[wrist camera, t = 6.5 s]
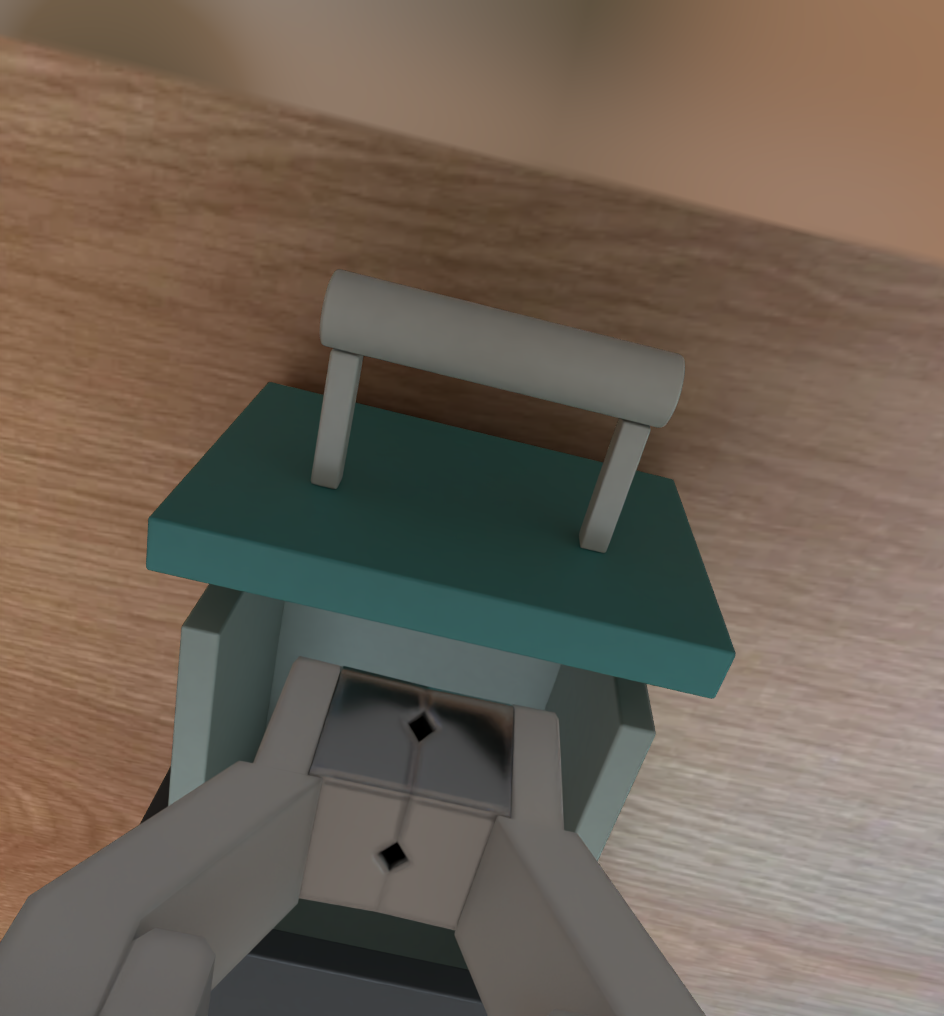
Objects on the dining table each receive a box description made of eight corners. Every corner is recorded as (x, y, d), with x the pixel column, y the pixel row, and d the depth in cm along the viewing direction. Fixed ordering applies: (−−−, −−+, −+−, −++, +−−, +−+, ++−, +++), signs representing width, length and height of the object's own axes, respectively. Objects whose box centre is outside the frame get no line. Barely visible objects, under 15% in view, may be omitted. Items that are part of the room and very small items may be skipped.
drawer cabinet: (224, 664, 28) (87, 921, 19) (579, 744, 28) (599, 1027, 20) (193, 941, 35) (85, 1216, 26) (477, 999, 35) (460, 1287, 27)
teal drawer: (289, 206, 20) (158, 272, 13) (736, 319, 20) (843, 441, 13) (223, 762, 29) (125, 977, 22) (536, 830, 29) (537, 1061, 22)
